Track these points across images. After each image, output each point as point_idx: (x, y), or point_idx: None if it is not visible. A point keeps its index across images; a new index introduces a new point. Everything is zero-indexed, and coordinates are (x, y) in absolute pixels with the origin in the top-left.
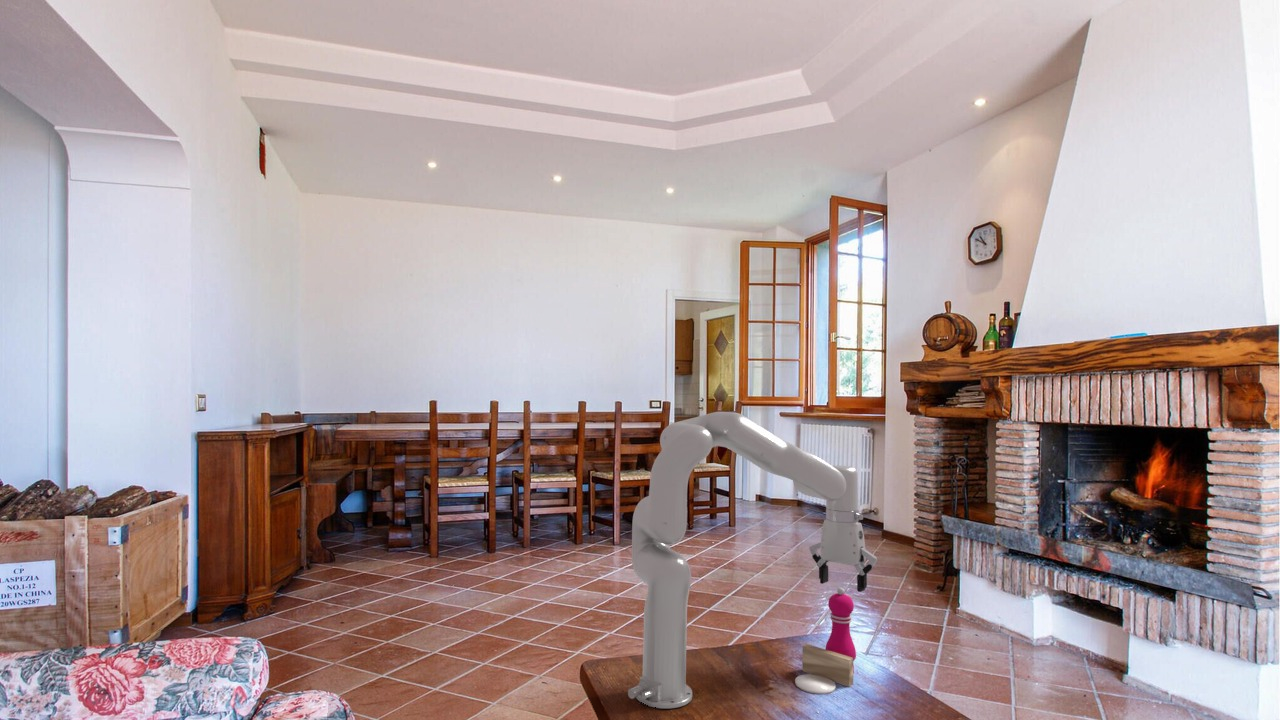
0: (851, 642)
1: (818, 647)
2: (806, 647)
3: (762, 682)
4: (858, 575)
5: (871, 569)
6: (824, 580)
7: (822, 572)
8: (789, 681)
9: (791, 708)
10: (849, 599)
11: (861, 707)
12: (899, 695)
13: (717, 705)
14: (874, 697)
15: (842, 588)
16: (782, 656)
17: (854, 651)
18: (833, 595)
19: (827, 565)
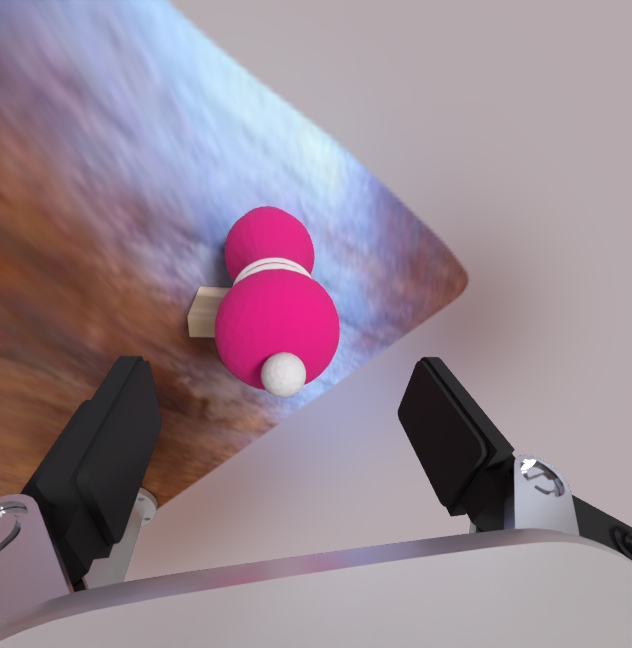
0: (308, 268)
1: None
2: (202, 336)
3: (178, 394)
4: (454, 513)
5: (602, 521)
6: (153, 420)
7: (129, 503)
8: (212, 361)
9: (269, 427)
10: (330, 355)
11: (356, 363)
12: (408, 278)
13: (186, 478)
14: (367, 317)
15: (295, 388)
16: (99, 253)
17: (313, 260)
18: (247, 378)
19: (68, 485)
